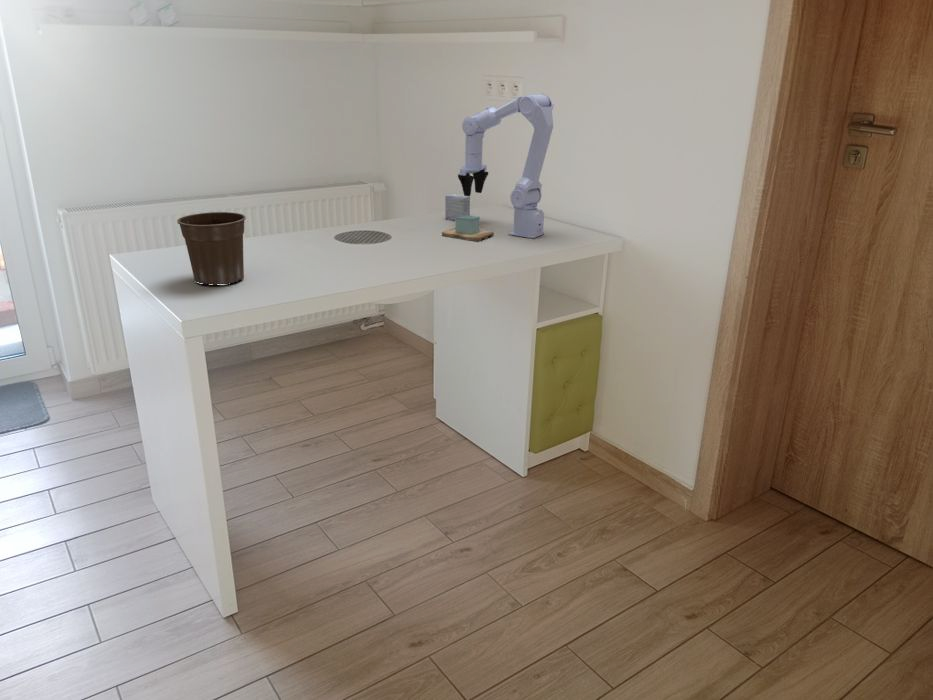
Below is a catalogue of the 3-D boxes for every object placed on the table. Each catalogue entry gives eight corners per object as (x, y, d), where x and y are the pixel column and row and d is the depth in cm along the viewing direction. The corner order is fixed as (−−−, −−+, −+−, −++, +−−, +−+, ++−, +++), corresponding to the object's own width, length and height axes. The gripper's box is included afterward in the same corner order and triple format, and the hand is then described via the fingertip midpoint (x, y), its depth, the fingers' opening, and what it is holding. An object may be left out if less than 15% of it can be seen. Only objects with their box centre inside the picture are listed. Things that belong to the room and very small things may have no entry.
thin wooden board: (494, 235, 234) (494, 232, 233) (478, 241, 226) (478, 238, 225) (457, 230, 240) (458, 226, 240) (441, 235, 232) (441, 232, 232)
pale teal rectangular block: (479, 232, 233) (479, 216, 231) (471, 234, 229) (471, 219, 227) (463, 229, 236) (463, 214, 234) (455, 232, 232) (455, 217, 230)
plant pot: (177, 277, 185) (168, 215, 178) (237, 267, 194) (231, 208, 188) (198, 293, 173) (189, 227, 167) (261, 282, 182) (255, 219, 176)
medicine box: (470, 220, 255) (470, 195, 252) (463, 222, 252) (463, 197, 249) (451, 217, 259) (452, 193, 256) (444, 219, 256) (445, 195, 252)
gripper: (474, 150, 248) (473, 190, 253) (452, 154, 236) (451, 195, 242) (492, 152, 244) (491, 192, 250) (470, 156, 233) (469, 198, 238)
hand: (472, 194), depth 245 cm, fingers open, 7 cm apart
